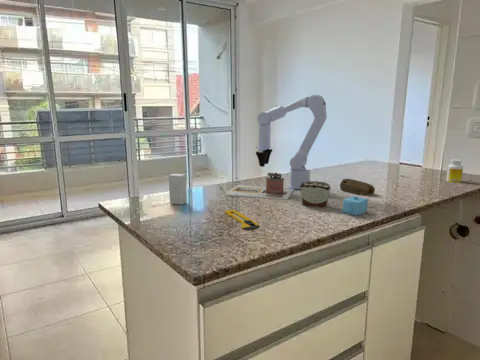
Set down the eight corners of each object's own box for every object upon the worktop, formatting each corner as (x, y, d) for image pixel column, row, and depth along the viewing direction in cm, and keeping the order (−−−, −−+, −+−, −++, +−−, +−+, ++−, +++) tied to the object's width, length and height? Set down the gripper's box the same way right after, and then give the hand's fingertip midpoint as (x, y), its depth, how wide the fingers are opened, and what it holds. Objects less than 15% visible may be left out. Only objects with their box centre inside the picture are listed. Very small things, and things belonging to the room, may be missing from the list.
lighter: (283, 194, 167) (284, 172, 165) (283, 195, 164) (283, 173, 162) (266, 193, 169) (266, 171, 166) (265, 194, 165) (265, 173, 163)
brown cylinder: (337, 193, 169) (338, 179, 167) (345, 190, 174) (346, 176, 172) (367, 199, 158) (369, 184, 157) (375, 196, 163) (376, 182, 161)
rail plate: (294, 191, 172) (294, 188, 172) (287, 201, 156) (287, 198, 155) (238, 186, 181) (238, 184, 181) (225, 195, 164) (225, 193, 164)
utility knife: (246, 234, 119) (246, 228, 118) (217, 215, 138) (217, 210, 138) (264, 231, 122) (264, 225, 121) (234, 212, 141) (234, 207, 141)
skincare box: (187, 202, 154) (186, 174, 151) (182, 204, 150) (181, 176, 147) (174, 200, 156) (173, 173, 153) (169, 203, 152) (168, 175, 149)
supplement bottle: (463, 186, 181) (467, 161, 178) (449, 186, 181) (453, 161, 178) (455, 183, 187) (459, 158, 185) (442, 183, 187) (445, 158, 185)
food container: (332, 206, 147) (334, 182, 145) (329, 211, 142) (331, 185, 140) (302, 203, 152) (303, 179, 150) (298, 207, 147) (299, 182, 145)
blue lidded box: (353, 222, 129) (354, 201, 128) (337, 218, 133) (338, 198, 132) (368, 214, 138) (369, 195, 136) (353, 211, 142) (354, 192, 140)
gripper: (260, 135, 186) (260, 162, 189) (252, 138, 172) (252, 167, 175) (274, 136, 183) (273, 162, 186) (266, 139, 170) (266, 168, 173)
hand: (264, 165), depth 181 cm, fingers open, 7 cm apart
